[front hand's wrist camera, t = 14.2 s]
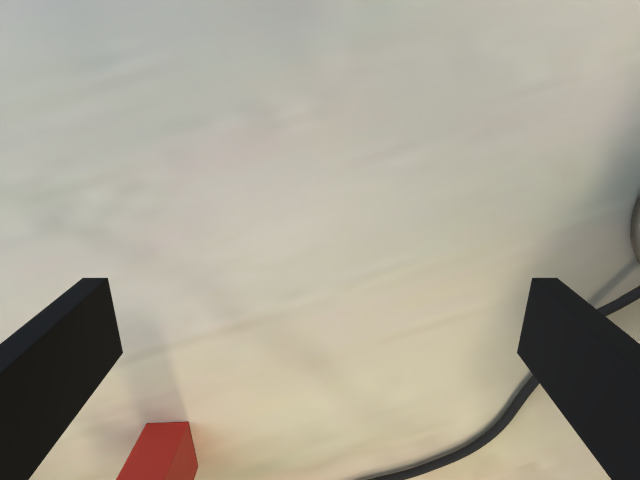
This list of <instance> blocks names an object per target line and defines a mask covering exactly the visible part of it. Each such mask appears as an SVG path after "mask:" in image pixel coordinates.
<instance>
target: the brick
mask: <svg viewBox="0 0 640 480" xmlns="http://www.w3.org/2000/svg"><path fill="white" fill-rule="evenodd" d="M197 469H198V464H197V459H196V454H195V450H194V445H193V441H192V436H191V431H190V427H189V422H174V423H147V424H146V426H145V427H144V429H143V431H142V433H141V435H140V437H139V438H138V440H137V442H136V444H135V446H134V448H133V449H132V451H131V453H130V455H129V457H128V459H127V460H126V462H125V464H124V466H123V468H122V470H121V471H120V473H119V475H118V477H117V479H116V480H194V477H195V475H196V472H197Z"/></svg>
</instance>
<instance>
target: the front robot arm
mask: <svg viewBox="0 0 640 480" xmlns="http://www.w3.org/2000/svg"><path fill="white" fill-rule="evenodd" d="M631 241H632V246H633V250H634V253H635V255H636V258H637V259H638V261H639V263H640V195H639V197H638V200H637V202H636V205H635V208H634V212H633V216H632V221H631ZM639 298H640V286H638V287H637V288H635V289H633V290H631V291H630V292H628V293H626V294H625V295H623V296H621V297H620V298H618V299H616V300H614V301H612V302H611V303H609V304H607V305H605V306H603V307H600V308H598V309H597V310H596V309H595V308H594V307H593V306H591V305H590V304H589V303H588V302H586V301H585V300H584V299H583V298H581V297H580V296H579V295H578V294H576V293H575V292H574V291H573V290H571V289H570V288H569V287H568V286H566V285H565V284H564V283H563V282H561V281H560V280H559V279H558V278H532V282H531V287H530V292H529V297H528V302H527V306H526V311H525V316H524V321H523V326H522V331H521V336H520V341H519V346H518V351H517V353H518V355H519V356H520V357H521V359H522V360H523V361H524V363H525V364H526V365H527V367H528V368H529V369H530V371H531V372H532V373H533V376H532V377H531V379H530V380H529V381H528V382H527V384H526V385H525V386H524V387H523V389H522V390H521V391H520V393H519V394H518V395H517V397H516V398H515V400H514V401H513V402H512V404H511V405H510V407H509V408H508V410H507V411H506V412H505V414H504V415H503V416H502V417H501V419H500V420H499V421H498V422H497V423H496V424H495V425H494V426H493V427H492V428H491V429H490V430H488V431H487V432H486V433H485V434H483V435H482V436H481V437H479V438H478V439H477V440H475V441H474V442H472V443H470V444H469V445H467V446H465V447H463V448H462V449H460V450H457V451H455V452H453V453H451V454H449V455H446V456H444V457H441V458H439V459H436V460H433V461H431V462H428V463H426V464H423V465H420V466H417V467H415V468H411V469H408V470H405V471H401V472H397V473H393V474H389V475H384V476H380V477H376V478H372V479H368V480H405V479H409V478H412V477H415V476H419V475H421V474H424V473H427V472H430V471H432V470H435V469H438V468H440V467H443V466H445V465H448V464H450V463H453V462H455V461H458V460H460V459H462V458H464V457H466V456H468V455H470V454H472V453H473V452H475V451H477V450H478V449H480V448H481V447H483V446H484V445H486V444H487V443H488V442H490V441H491V440H492V439H494V438H495V437H496V436H497V435H498V434H499V433H500V432H501V431H502V430H503V429H504V428H505V427H506V426H507V425H508V424H509V423H510V421H511V420H512V419H513V418H514V416H515V415H516V413H517V412H518V411H519V409H520V408H521V406H522V405H523V404H524V402H525V401H526V400H527V398H528V397H529V396H530V394H531V393H532V392H533V391H534V389H535V388H536V387H537V386H538V384H539V383H540V384H541V386H542V387H543V388H544V390H545V391H546V392H547V394H548V395H549V396H550V398H551V399H552V400H553V402H554V403H555V404H556V406H557V407H558V408H559V410H560V411H561V412H562V414H563V415H564V416H565V418H566V419H567V420H568V422H569V423H570V424H571V426H572V427H573V429H574V430H575V431H576V433H577V434H578V435H579V437H580V438H581V439H582V441H583V442H584V443H585V445H586V446H587V447H588V449H589V450H590V451H591V453H592V454H593V455H594V457H595V458H596V459H597V461H598V462H599V463H600V465H601V466H602V467H603V469H604V470H605V471H606V473H607V474H608V476H609V477H610V478H611V480H640V344H639V343H638V342H636V341H635V340H634V339H633V338H631V337H630V336H629V335H628V334H626V333H625V332H624V331H623V330H621V329H620V328H619V327H618V326H616V325H615V324H614V323H613V322H611V321H610V320H609V319H608V318H606V317H605V316H607V315H609V314H611V313H613V312H615V311H617V310H619V309H621V308H623V307H625V306H627V305H628V304H630V303H632V302H634V301H635V300H637V299H639ZM122 353H123V351H122V346H121V341H120V336H119V331H118V326H117V321H116V316H115V311H114V306H113V302H112V297H111V292H110V287H109V282H108V278H82V279H81V280H80V281H79V282H77V283H76V284H75V285H74V286H72V287H71V288H70V289H69V290H67V291H66V292H65V293H64V294H62V295H61V296H60V297H59V298H57V299H56V300H55V301H54V302H52V303H51V304H50V305H49V306H47V307H46V308H45V309H44V310H42V311H41V312H40V313H39V314H37V315H36V316H35V317H34V318H32V319H31V320H30V321H29V322H27V323H26V324H25V325H24V326H22V327H21V328H20V329H19V330H17V331H16V332H15V333H14V334H12V335H11V336H10V337H9V338H7V339H6V340H5V341H4V342H2V343H1V344H0V480H29V478H30V477H31V475H32V474H33V473H34V471H35V470H36V469H37V467H38V466H39V465H40V463H41V462H42V461H43V459H44V458H45V457H46V455H47V454H48V453H49V451H50V450H51V449H52V447H53V446H54V445H55V443H56V442H57V441H58V439H59V438H60V437H61V435H62V434H63V433H64V431H65V430H66V429H67V427H68V426H69V424H70V423H71V422H72V420H73V419H74V418H75V416H76V415H77V414H78V412H79V411H80V410H81V408H82V407H83V406H84V404H85V403H86V402H87V400H88V399H89V398H90V396H91V395H92V394H93V392H94V391H95V390H96V388H97V387H98V386H99V384H100V383H101V382H102V380H103V379H104V378H105V376H106V375H107V373H108V372H109V371H110V369H111V368H112V367H113V365H114V364H115V363H116V361H117V360H118V359H119V357H120V356H121V355H122Z"/></svg>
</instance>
